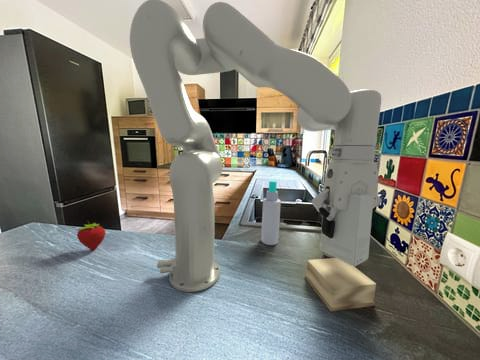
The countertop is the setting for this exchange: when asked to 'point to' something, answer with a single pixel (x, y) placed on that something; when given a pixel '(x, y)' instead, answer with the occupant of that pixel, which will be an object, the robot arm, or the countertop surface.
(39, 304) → the countertop surface
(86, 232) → the strawberry
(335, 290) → the riser block
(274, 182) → the spray bottle
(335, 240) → the skincare box
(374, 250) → the countertop surface
